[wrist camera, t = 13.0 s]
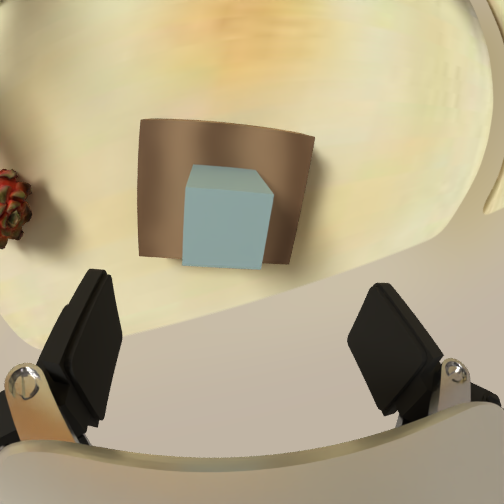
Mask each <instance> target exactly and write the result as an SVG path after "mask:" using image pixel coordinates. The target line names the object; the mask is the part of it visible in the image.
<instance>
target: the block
mask: <svg viewBox="0 0 504 504" xmlns="http://www.w3.org/2000/svg"><path fill="white" fill-rule="evenodd" d="M273 198H274V194H273V192H272V191H271V190H270V188H269V187H268V186H267V184H266V183H265V182H264V180H263V179H262V178H261V176H260V175H259V174H258V172H257V171H256V170H252V169H242V168H232V167H221V166H208V165H194V164H193V167H192V170H191V172H190V175H189V178H188V181H187V184H186V189H185V205H184V225H183V255H182V265H183V266H201V267H219V268H239V269H260V270H261V266H262V260H263V255H264V249H265V244H266V238H267V232H268V227H269V221H270V215H271V210H272V204H273Z"/></svg>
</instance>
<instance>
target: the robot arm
mask: <svg viewBox="0 0 504 504" xmlns="http://www.w3.org/2000/svg"><path fill="white" fill-rule="evenodd" d="M121 342H122V329H121V325H120V320H119V316H118V311H117V306H116V300H115V295H114V289H113V283H112V277H111V275H107V273H106V271H105V270H100V269H89V270H88V271H87V273H86V274H85V276H84V278H83V279H82V281H81V283H80V285H79V286H78V288H77V290H76V292H75V293H74V295H73V297H72V299H71V300H70V302H69V304H68V305H66V306H65V307H64V308H63V310H62V312H61V314H60V316H59V318H58V320H57V322H56V323H55V325H54V327H53V329H52V331H51V333H50V335H49V338H48V340H47V342H46V344H45V346H44V348H43V350H42V353H41V355H40V357H39V359H38V362H37V364H36V365H34V364H32V363H23V364H19V365H17V366H15V367H13V368H12V369H11V370H10V372H9V373H8V375H7V376H6V379H5V384H4V387H5V390H3V391H1V392H0V504H504V409H503V408H501V403H500V400H499V398H498V396H497V395H496V394H493V393H492V392H490V391H488V390H486V389H484V388H482V387H479V386H477V385H475V384H473V383H471V382H470V374H469V372H468V369H467V368H466V367H465V366H464V364H462V363H461V362H460V361H458V360H456V359H453V358H448V359H446V360H444V361H443V363H442V364H440V362H439V361H440V360H441V358H442V357H443V356H444V355H443V353H442V352H441V350H440V349H439V347H438V346H437V345H436V343H435V342H434V340H433V339H432V338H431V336H430V335H429V333H428V332H427V331H426V329H425V328H424V327H423V325H422V324H421V323H420V321H419V320H418V319H417V317H416V316H415V315H414V313H413V312H412V311H411V310H410V308H409V307H408V306H407V304H406V303H405V302H404V300H403V299H402V298H401V297H400V295H399V294H398V293H397V292H396V290H395V289H394V288H393V287H392V286H391V285H390V284H389V283H376V284H374V285H373V287H371V288H370V289H369V291H368V294H367V296H366V298H365V301H364V303H363V305H362V307H361V310H360V312H359V314H358V316H357V318H356V321H355V322H354V325H353V327H352V329H351V331H350V333H349V335H348V339H347V342H348V346H349V348H350V350H351V352H352V354H353V356H354V358H355V360H356V362H357V364H358V366H359V368H360V371H361V372H362V375H363V377H364V379H365V381H366V383H367V385H368V387H369V390H370V392H371V394H372V396H373V398H374V401H375V403H376V405H377V407H378V409H380V410H381V411H382V413H383V415H384V416H387V415H390V414H394V413H395V412H396V411H397V410H398V412H399V416H398V420H397V424H396V427H395V428H394V429H391V430H388V431H385V432H381V433H378V434H375V435H371V436H368V437H364V438H360V439H357V440H353V441H349V442H344V443H340V444H336V445H331V446H326V447H322V448H316V449H310V450H304V451H298V452H290V453H283V454H274V455H265V456H250V457H231V458H195V457H193V458H192V457H175V456H162V455H151V454H141V453H133V452H127V451H120V450H114V449H108V448H102V447H96V446H92V445H91V444H90V442H89V440H88V438H87V437H86V435H85V433H86V431H87V426H93V427H98V424H99V420H103V419H104V416H105V411H106V406H107V401H108V396H109V392H110V386H111V382H112V378H113V374H114V370H115V366H116V362H117V358H118V354H119V350H120V346H121Z"/></svg>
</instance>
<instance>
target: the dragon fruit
mask: <svg viewBox="0 0 504 504" xmlns="http://www.w3.org/2000/svg"><path fill="white" fill-rule="evenodd" d="M17 177H18V176H17V172H16V171H14V170H13V169H12V170H6V169H2V170H1V171H0V249H4V248H5V246H6V244H7V241H8V238H9V239H15V240H20V239H21V237H22V236H23V233H24V232H23V231H22V225H24V224H26V223H27V222H28V221H30V219H31V216H32V213H31V210H30V207H29V204H28V203H27V202H26V201H25V199H26V197H27V196H28V195H29V194H31V193H32V191H31V185H30V184H28V183H26V182H17V183H16V178H17Z"/></svg>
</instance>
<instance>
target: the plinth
mask: <svg viewBox="0 0 504 504" xmlns="http://www.w3.org/2000/svg"><path fill="white" fill-rule="evenodd" d="M314 141H315V137H313V136H309V135H305V134H302V133H297V132H291V131H285V130H279V129H273V128H266V127H259V126H252V125H244V124H235V123H225V122H214V121H201V120H184V119H143V120H141V122H140V135H139V152H138V181H137V213H138V244H139V256H145V257H161V258H178V259H182V255H183V225H184V205H185V189H186V184H187V181H188V178H189V175H190V172H191V170H192V167H193V164H194V165H208V166H221V167H232V168H242V169H252V170H256V171H257V172H258V174H259V175H260V176H261V178H262V179H263V180H264V182H265V183H266V184H267V186H268V187H269V188H270V190H271V191H272V192H273V194H274V198H273V204H272V210H271V215H270V221H269V227H268V232H267V238H266V244H265V249H264V255H263V260H262V263H271V264H289V262H290V257H291V253H292V249H293V244H294V240H295V235H296V231H297V226H298V221H299V217H300V212H301V207H302V202H303V198H304V193H305V188H306V183H307V178H308V173H309V167H310V162H311V157H312V152H313V146H314Z"/></svg>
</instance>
